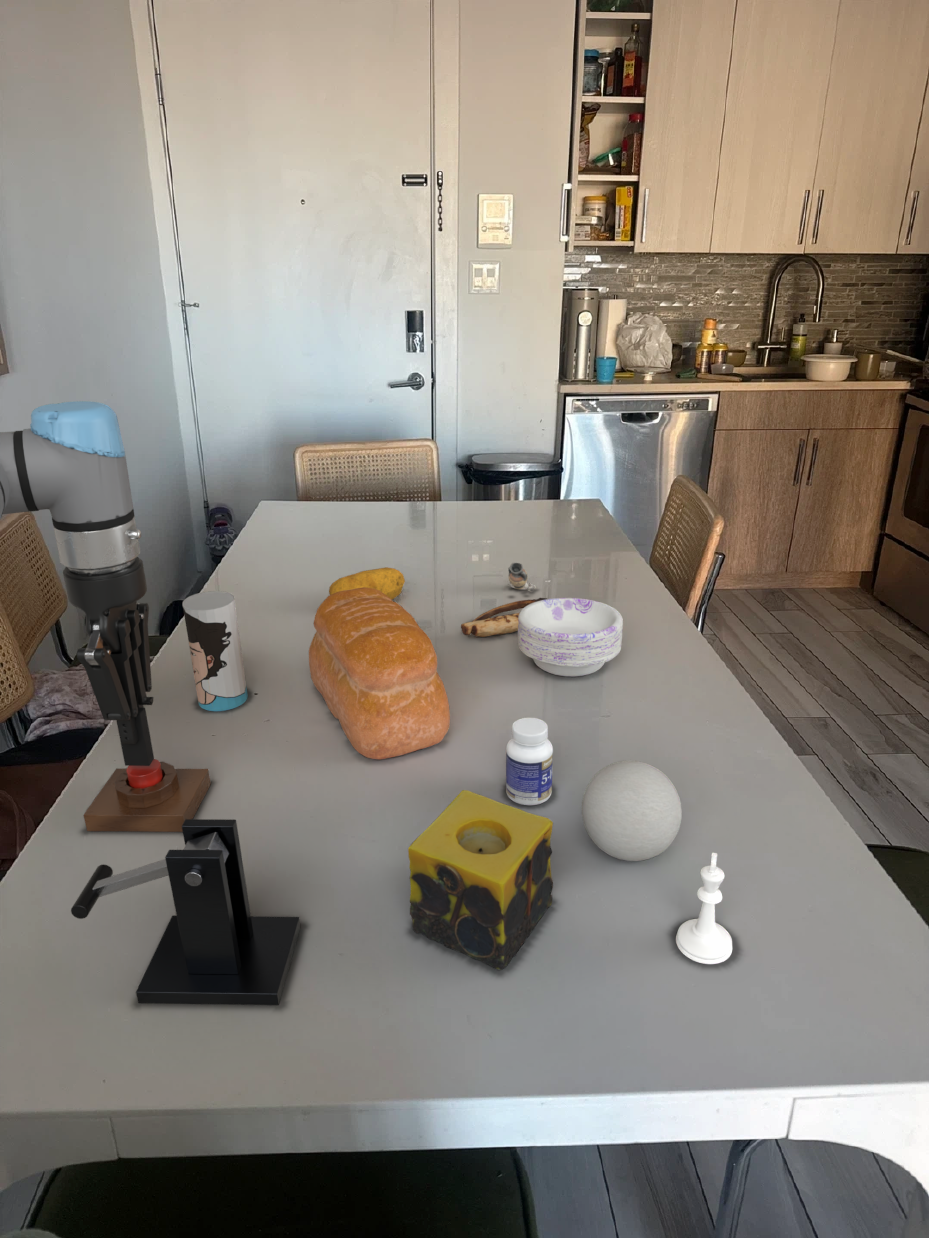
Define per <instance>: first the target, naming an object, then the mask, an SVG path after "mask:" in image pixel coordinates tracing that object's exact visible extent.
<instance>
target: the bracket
mask: <svg viewBox="0 0 929 1238" xmlns="http://www.w3.org/2000/svg"><path fill="white" fill-rule="evenodd" d="M182 831H183V832H182V836H183V841H184V846H185V845H186V843H187V841H189V840H192V839H195V838H198V837H201V836H205V835H208V834H211V833H214V832H217V834H218V836H219V837H220V839H221V840H222V842H223V844H224V845H225V847H226V848H227V850H228V852H229V855H228V857H227V859H226V862H225V863H224V857H223V851H222V850H183V849H169V850H168V851H167V853H166V855H165V856H164V859H166V864H167V869H168V874H169V875H168V879H169V884H170V889H171V894H172V901H173V904H174V910H175V914H176V915H171V917H170V919H169V921H168V924H167V926H166V928H165V929H164V931H163V934H162V936H161V938H160V941H159V942H158V945H157V947H156V948H155V951H154V953H153V954H152V957H151V959H150V961H149V963H148V966H147V968H146V969H145V971H144V974H143V976H142V978H141V980H140V982H139V985H138V986H137V989H136V991H135V995H136V999H137V1003H138V1004H163V1005H165V1004H167V1005H175V1004H176V1005H235V1006H236V1005H237V1006H240V1005H242V1006H243V1005H244V1006H279V1005H280V1001H281V998H282V995H283V991H284V987H285V984H286V980H287V977H288V973H289V971H290V970H289V969H290V967H291V962H292V960H293V956H294V952H295V949H296V945H297V942H298V938H299V934H300V931H301V919H300V916H261V915H260V916H256V915H253V916H252V915H251V909H250V902H249V895H248V889H247V882H246V876H245V869H244V863H243V858H242V857H243V856H242V850H241V844H240V843H241V842H240V838H239V830H238V823H237V819H223V818H222V819H221V818H220V819H213V818H212V819H208V818H207V819H206V818H205V819H204V818H203V819H202V818H201V819H199V818H198V819H197V818H195V819H194V818H193V819H185V821H184V823H183V825H182Z"/></svg>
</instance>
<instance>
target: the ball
mask: <svg viewBox="0 0 929 1238" xmlns="http://www.w3.org/2000/svg"><path fill="white" fill-rule="evenodd" d="M682 809H683V808H682V803H681V799H680V795H679V793H678V790H677V789H676V787H675V785H674V784H673V782H672V781H671V780H670V778H669V777H668V776H667V775H666V774H665V773H664V772H663V771H661V770H660V769H658V768H657V767H655V766H653V765H651V764H649V763H646V762H643V761H638V760H621V761H617V762H614V763H611V764H608V765H606V766H604V767H603V768H601V769H600V770H599V771H597V772H596V774H594V775H593V776H592V778H591V779H590V781H589V782H588V784H587V786H586V788H585V790H584V792H583V795H582V800H581V818H582V822H583V826H584V828H585V831H586V832H587V835H588V836H589V839H591V840H592V842H593V843H594V844H595V845H596V846H597V848H599V849H600V850H601V851H602V852H604V853H605V854H607V855H608V856H610V857H612V858H615V859H618V860H621V861H626V862H640V861H646V860H650V859H652V858H655V857H657V856H659V855H660V854H662V853H663V852H665V851H666V850H667V849H668V848H669V847H670V846H671V844H672V843H673V842H674V840H675V838H676V837H677V835H678V833H679V830H680V828H681V823H682V816H683V812H682V811H683V810H682Z"/></svg>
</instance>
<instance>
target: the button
mask: <svg viewBox="0 0 929 1238" xmlns="http://www.w3.org/2000/svg"><path fill="white" fill-rule="evenodd" d="M160 762H161V761H159V760H158V759H156V758H154V760H153V761H152V763H151V764H150V766H127V767H126V768H127V776H128V781H129V785H130V786H131V787H132V788H147V787H150V786H154V785H156V784H157V783H159V782H160V781H161V780H162V778H163V775H162V769H161V764H160Z"/></svg>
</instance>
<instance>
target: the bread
mask: <svg viewBox="0 0 929 1238" xmlns="http://www.w3.org/2000/svg"><path fill="white" fill-rule="evenodd" d="M313 627H314V629H315V633H314V635H313V638H312V640H311V643H310V645H309V647H308V665H309V672H310V673H309V674H310V679H311V680H312V683H313V686H314V687H315V688H316V690H317V691H318V692H319V693H320V694H321V696H322V698H323V699H324V701H325V703H326V706H327V708H328V710H329V711H330V713H331V714H332V715H333V717H334V718H335V719H337V720H338V721H339V723H340V726H341V729H342V731H343V732H344V734H345V736H346V737H347V739H348V741H349V742H350V744H351V746H352V747H353V749H355V751H356V752H357V753H359V754H360V755H362V756H363V757H365V758H367V759H373V760H384V759H390V758H394V757H399V756H403V755H406V754H410V753H413V752H416V751H419V750H423V749H426V748H430V747H432V746H434V745H437V744H440V743H441V742H442V741H443V740H444V738H445V736H446V735H447V733H448V731H449V729H450V724H451V723H450V722H451V713H450V703H449V698H448V695H447V691H446V688H445V685H444V681H443V680H442V678H441V677H440V674H439V672H438V655H437V653H436V650H435V648H434V645H433V642H432V639H431V638H430V637H429V636H428V635H427V633H426V632H425V631H424V630H423V629H422V628H421V627H420V625H419V624H418V622H417V621H416V620H415V618H414V617H413V615H412V614H411V613H409V611H407V609H405V608H404V607H403V606H401V605H400V604H399V603H398V602H395V601H394V600H391V598H390V597H388V596H387V595H385V594H384V593H382V592H381V591H379V590H377V589H373V588H366V587H362V588H356V589H351V590H344V591H339V592H336V593H333V594H331V595H330V594H329V595H328V596H326V598H325V599H324V600H323V601H322V602H321V603H320V605H319V606H318V608H317V609H316V611H315V615H314V619H313Z"/></svg>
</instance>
